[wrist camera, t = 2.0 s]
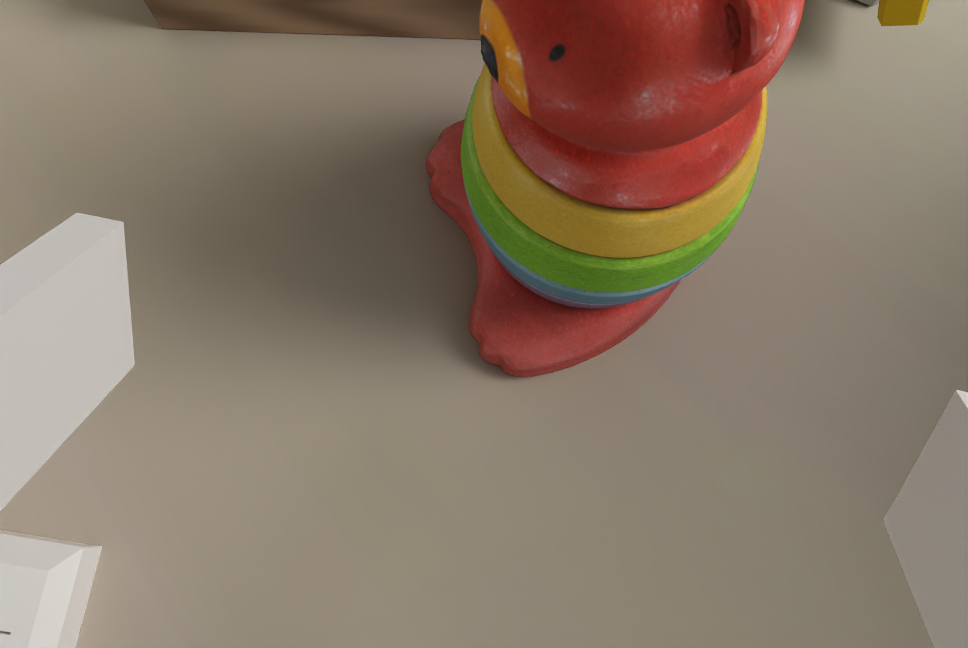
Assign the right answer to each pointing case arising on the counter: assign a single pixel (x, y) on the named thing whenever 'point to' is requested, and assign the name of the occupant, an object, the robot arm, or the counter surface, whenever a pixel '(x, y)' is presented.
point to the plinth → (325, 16)
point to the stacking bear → (603, 162)
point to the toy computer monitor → (899, 11)
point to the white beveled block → (43, 590)
